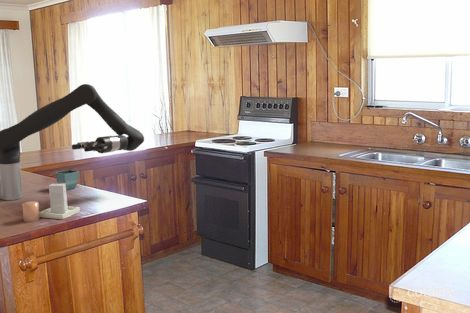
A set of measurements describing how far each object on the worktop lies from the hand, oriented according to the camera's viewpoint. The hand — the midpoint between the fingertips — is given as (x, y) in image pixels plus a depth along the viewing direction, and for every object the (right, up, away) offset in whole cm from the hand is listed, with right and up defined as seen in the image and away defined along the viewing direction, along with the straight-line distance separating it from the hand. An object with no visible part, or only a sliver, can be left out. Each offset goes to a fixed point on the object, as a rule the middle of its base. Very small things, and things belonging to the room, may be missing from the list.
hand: (78, 148), depth 219 cm
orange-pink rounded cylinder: (-15, -29, -14) cm, 36 cm away
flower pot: (-18, -20, +39) cm, 48 cm away
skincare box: (-6, -27, -7) cm, 29 cm away
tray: (-6, -28, -7) cm, 29 cm away
